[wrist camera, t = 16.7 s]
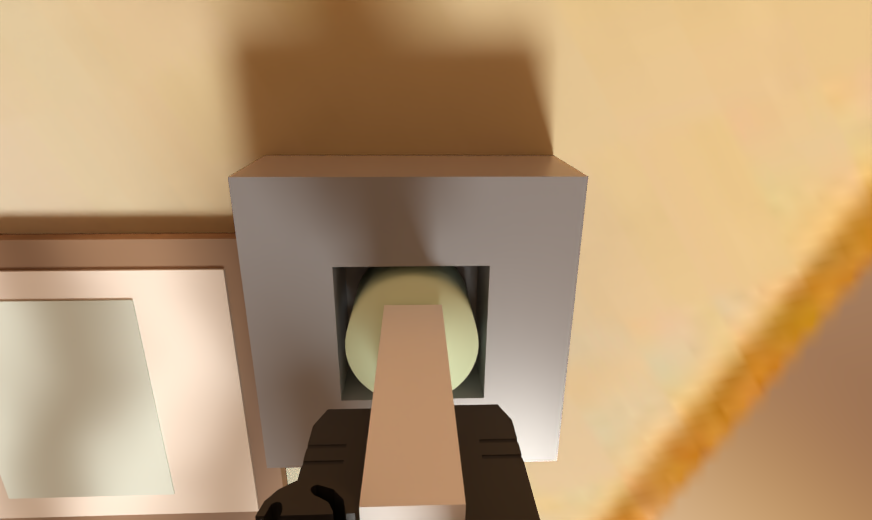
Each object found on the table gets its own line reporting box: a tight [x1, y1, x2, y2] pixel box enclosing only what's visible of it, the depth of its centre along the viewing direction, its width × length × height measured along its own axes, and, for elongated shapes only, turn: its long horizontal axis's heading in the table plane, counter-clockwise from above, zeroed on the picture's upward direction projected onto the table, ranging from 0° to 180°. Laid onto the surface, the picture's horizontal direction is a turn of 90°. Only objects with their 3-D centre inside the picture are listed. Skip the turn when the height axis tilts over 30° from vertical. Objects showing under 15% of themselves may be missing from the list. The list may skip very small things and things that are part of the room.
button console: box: [228, 155, 588, 468], centre depth 16 cm, size 9×9×3 cm
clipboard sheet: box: [0, 233, 288, 520], centre depth 18 cm, size 16×12×1 cm
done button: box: [345, 266, 479, 392], centre depth 15 cm, size 4×4×3 cm
